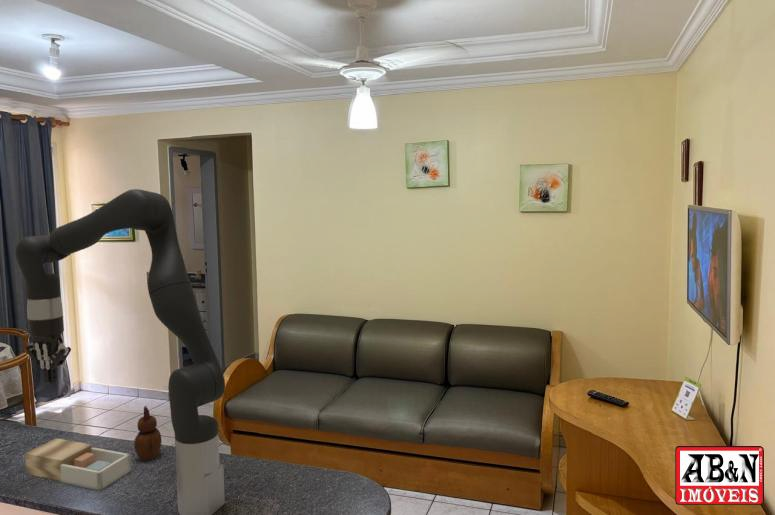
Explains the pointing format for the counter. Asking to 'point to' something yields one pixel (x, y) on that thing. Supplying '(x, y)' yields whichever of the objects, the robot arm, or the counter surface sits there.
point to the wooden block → (54, 457)
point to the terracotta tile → (84, 460)
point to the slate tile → (98, 465)
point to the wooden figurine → (147, 437)
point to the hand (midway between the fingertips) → (50, 382)
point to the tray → (98, 478)
